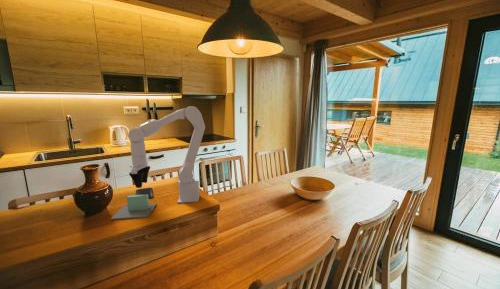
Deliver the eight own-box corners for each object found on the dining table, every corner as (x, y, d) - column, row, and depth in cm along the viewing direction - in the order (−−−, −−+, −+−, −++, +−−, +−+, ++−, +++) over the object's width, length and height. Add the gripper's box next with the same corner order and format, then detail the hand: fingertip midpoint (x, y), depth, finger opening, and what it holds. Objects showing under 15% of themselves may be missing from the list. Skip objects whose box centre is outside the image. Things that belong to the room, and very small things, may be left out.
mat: (156, 205, 105) (156, 203, 105) (148, 217, 93) (147, 216, 93) (124, 207, 103) (123, 205, 103) (111, 220, 91) (111, 218, 91)
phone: (151, 187, 126) (153, 196, 113) (152, 189, 126) (153, 198, 113) (135, 189, 123) (135, 199, 109) (136, 191, 123) (135, 201, 110)
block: (149, 207, 101) (148, 194, 100) (147, 209, 99) (146, 196, 98) (130, 208, 100) (128, 195, 99) (128, 210, 98) (126, 197, 97)
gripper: (135, 152, 108) (138, 180, 110) (122, 159, 94) (125, 191, 96) (151, 151, 109) (153, 179, 111) (140, 158, 95) (143, 190, 97)
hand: (141, 184), depth 104 cm, fingers open, 6 cm apart
